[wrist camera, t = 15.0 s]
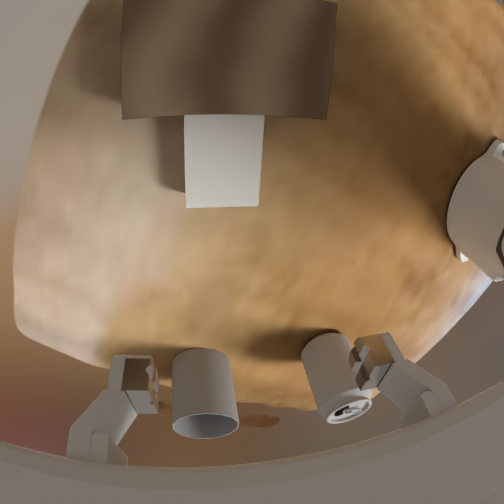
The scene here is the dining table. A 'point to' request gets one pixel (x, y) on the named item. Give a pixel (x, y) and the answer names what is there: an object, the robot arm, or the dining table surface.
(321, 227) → the dining table surface
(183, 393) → the cup
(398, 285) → the dining table surface
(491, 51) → the dining table surface
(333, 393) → the can
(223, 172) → the white and orange box
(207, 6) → the cabinet
